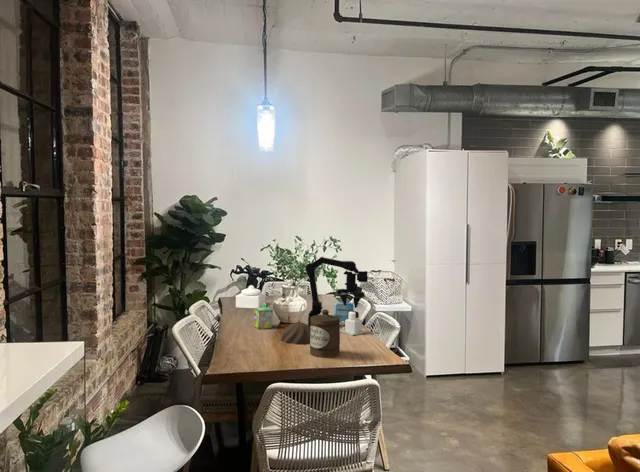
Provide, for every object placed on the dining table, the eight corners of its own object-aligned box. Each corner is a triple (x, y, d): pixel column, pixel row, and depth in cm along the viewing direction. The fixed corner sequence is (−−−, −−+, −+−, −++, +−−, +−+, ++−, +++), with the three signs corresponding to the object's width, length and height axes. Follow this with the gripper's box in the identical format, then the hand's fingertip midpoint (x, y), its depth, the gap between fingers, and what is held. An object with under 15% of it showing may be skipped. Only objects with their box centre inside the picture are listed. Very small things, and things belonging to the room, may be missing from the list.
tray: (353, 335, 282) (353, 333, 282) (340, 332, 291) (340, 330, 291) (366, 333, 290) (366, 331, 290) (353, 329, 298) (353, 327, 298)
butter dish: (258, 308, 360) (258, 287, 360) (235, 307, 364) (235, 286, 363) (265, 304, 378) (265, 284, 377) (242, 303, 381) (243, 283, 380)
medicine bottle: (351, 329, 295) (352, 310, 295) (361, 331, 291) (362, 311, 290) (344, 331, 290) (345, 311, 289) (354, 333, 285) (355, 313, 285)
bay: (343, 331, 294) (343, 327, 294) (329, 327, 304) (329, 323, 304) (359, 328, 303) (359, 325, 303) (344, 324, 312) (344, 321, 312)
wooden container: (303, 353, 245) (304, 309, 244) (324, 347, 255) (325, 306, 254) (324, 359, 234) (325, 313, 233) (345, 354, 245) (346, 310, 244)
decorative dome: (306, 334, 284) (307, 317, 284) (322, 342, 266) (322, 324, 266) (275, 337, 275) (275, 320, 275) (289, 346, 258) (289, 327, 257)
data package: (335, 322, 319) (335, 303, 319) (333, 320, 324) (334, 302, 323) (353, 321, 321) (353, 303, 321) (351, 320, 326) (352, 302, 325)
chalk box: (253, 326, 302) (253, 302, 301) (267, 325, 306) (267, 301, 305) (258, 329, 293) (258, 305, 293) (272, 328, 298) (273, 304, 297)
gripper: (371, 282, 301) (370, 307, 302) (349, 279, 315) (349, 303, 316) (358, 283, 294) (357, 309, 294) (337, 280, 308) (336, 305, 308)
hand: (350, 306), depth 303 cm, fingers open, 9 cm apart
